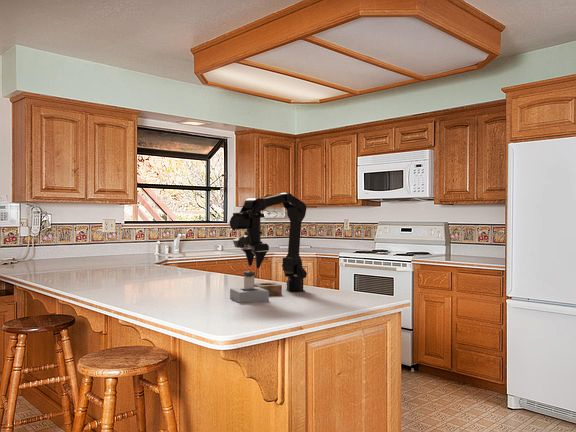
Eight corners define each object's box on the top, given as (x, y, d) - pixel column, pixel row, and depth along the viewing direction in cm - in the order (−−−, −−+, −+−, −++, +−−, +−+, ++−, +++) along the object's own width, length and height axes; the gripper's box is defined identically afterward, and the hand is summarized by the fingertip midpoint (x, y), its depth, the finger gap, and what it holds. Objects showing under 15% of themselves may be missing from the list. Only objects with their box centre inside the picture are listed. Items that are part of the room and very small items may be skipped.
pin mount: (272, 291, 228) (272, 282, 228) (281, 294, 219) (281, 285, 219) (251, 292, 224) (251, 283, 224) (259, 296, 215) (259, 286, 215)
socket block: (258, 296, 214) (258, 286, 214) (268, 301, 203) (268, 290, 203) (230, 298, 209) (230, 288, 209) (239, 303, 198) (239, 292, 198)
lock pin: (252, 298, 209) (252, 271, 209) (256, 300, 205) (256, 272, 205) (241, 299, 207) (241, 271, 207) (245, 300, 203) (245, 272, 203)
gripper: (227, 228, 218) (228, 265, 219) (242, 230, 201) (243, 270, 202) (252, 228, 223) (252, 264, 223) (269, 229, 206) (269, 269, 206)
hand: (254, 267), depth 214 cm, fingers open, 9 cm apart
